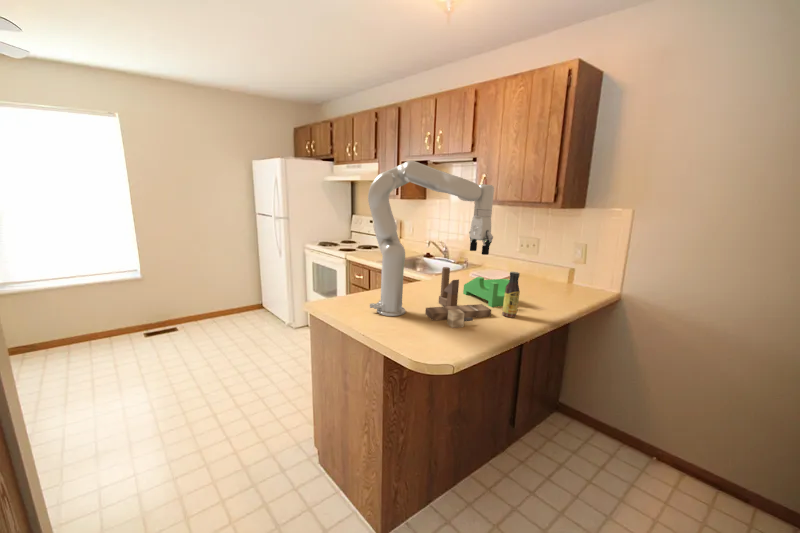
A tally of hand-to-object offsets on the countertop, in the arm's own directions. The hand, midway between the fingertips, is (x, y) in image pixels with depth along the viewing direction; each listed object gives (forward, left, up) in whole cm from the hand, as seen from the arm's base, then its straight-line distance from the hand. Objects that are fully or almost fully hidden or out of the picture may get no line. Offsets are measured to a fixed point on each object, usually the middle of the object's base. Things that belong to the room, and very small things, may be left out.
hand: (478, 252), depth 157 cm
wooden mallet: (-9, +9, -28) cm, 30 cm away
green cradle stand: (+17, +16, -28) cm, 37 cm away
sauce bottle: (+13, -9, -28) cm, 32 cm away
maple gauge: (-14, -15, -27) cm, 34 cm away
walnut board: (-10, -4, -27) cm, 29 cm away
